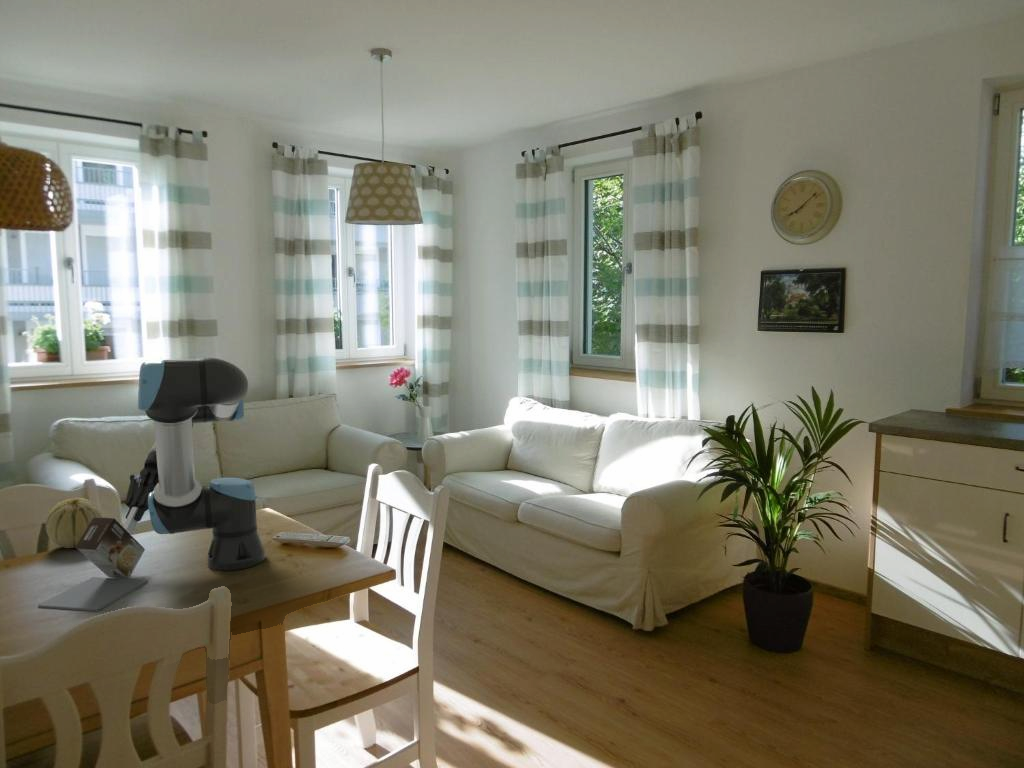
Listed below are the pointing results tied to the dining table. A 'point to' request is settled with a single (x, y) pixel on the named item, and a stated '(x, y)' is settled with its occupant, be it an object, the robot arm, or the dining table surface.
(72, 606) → the slate mat
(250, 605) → the dining table surface
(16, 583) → the dining table surface
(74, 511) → the cantaloupe
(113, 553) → the coffee box
